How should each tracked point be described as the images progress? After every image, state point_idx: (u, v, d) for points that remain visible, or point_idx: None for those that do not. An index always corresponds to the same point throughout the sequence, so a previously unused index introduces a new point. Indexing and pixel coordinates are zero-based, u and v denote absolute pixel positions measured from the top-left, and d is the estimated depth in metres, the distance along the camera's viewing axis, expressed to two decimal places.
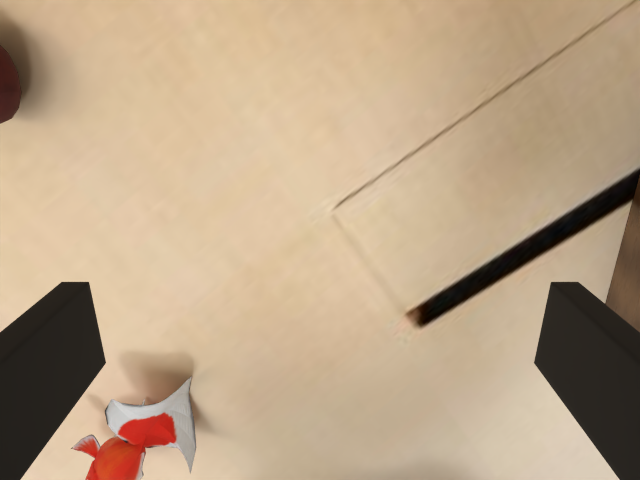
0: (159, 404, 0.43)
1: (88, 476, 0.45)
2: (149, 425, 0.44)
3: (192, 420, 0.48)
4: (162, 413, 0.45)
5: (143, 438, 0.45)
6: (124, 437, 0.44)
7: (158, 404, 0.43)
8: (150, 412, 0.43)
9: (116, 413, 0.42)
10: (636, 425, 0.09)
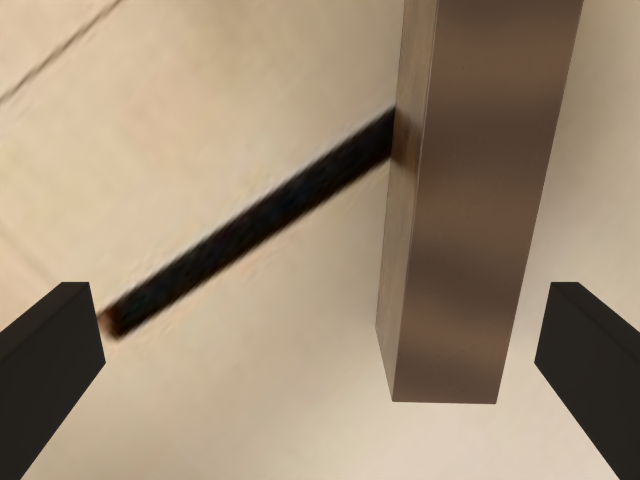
0: None
1: None
2: None
3: None
4: None
5: None
6: None
7: None
8: None
9: None
10: (636, 425, 0.09)
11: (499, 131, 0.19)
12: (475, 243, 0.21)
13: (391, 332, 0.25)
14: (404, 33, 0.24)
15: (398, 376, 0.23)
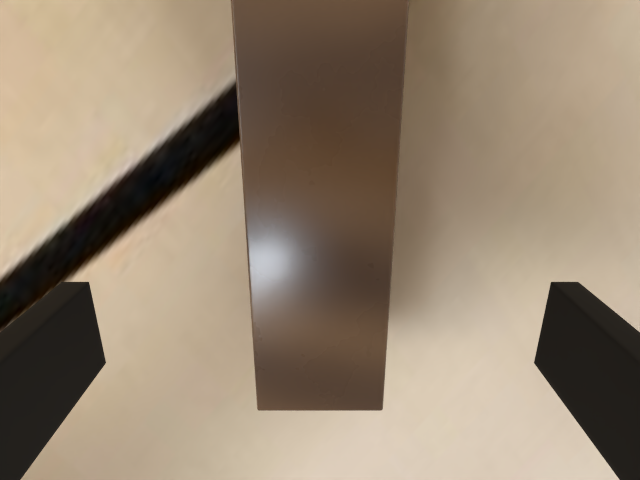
0: None
1: None
2: None
3: None
4: None
5: None
6: None
7: None
8: None
9: None
10: (636, 425, 0.09)
11: (332, 69, 0.15)
12: (325, 215, 0.17)
13: None
14: None
15: (259, 380, 0.20)
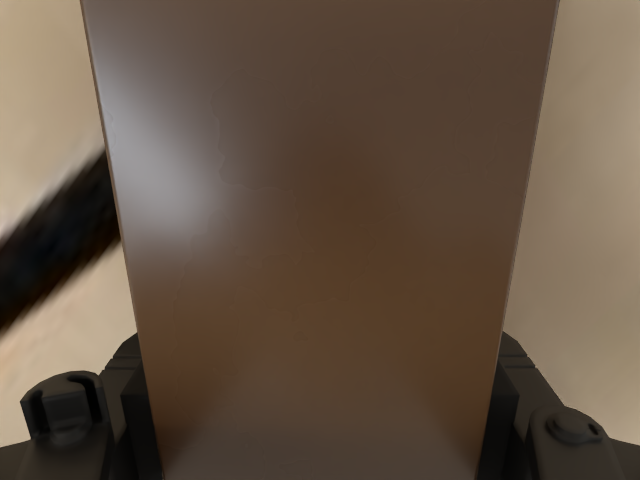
0: None
1: None
2: None
3: None
4: None
5: None
6: None
7: None
8: None
9: None
10: None
11: (353, 68, 0.05)
12: (333, 400, 0.07)
13: None
14: None
15: None
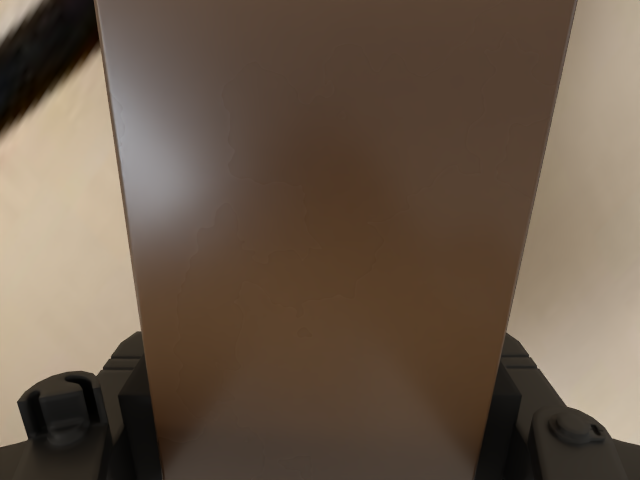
0: None
1: None
2: None
3: None
4: None
5: None
6: None
7: None
8: None
9: None
10: None
11: (367, 64, 0.05)
12: (335, 397, 0.07)
13: None
14: None
15: None
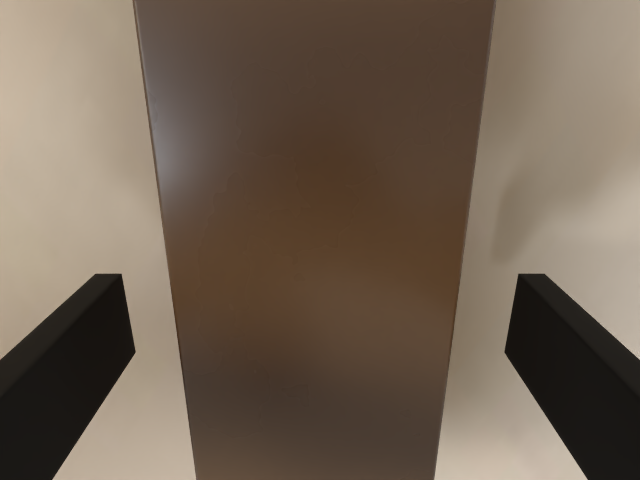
0: None
1: None
2: None
3: None
4: None
5: None
6: None
7: None
8: None
9: None
10: (587, 406, 0.09)
11: (340, 62, 0.07)
12: (325, 332, 0.09)
13: None
14: None
15: None
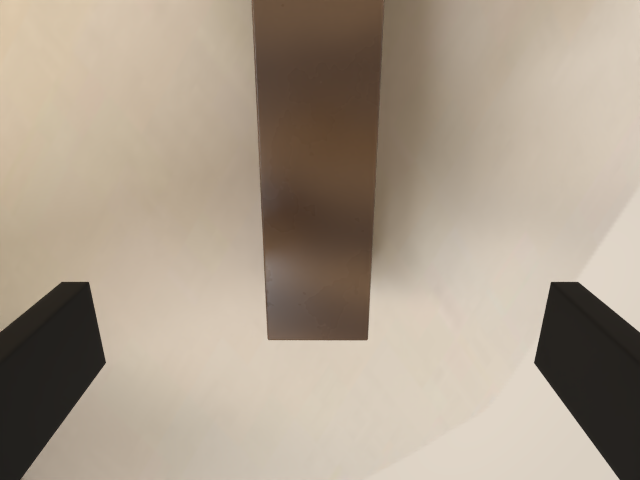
0: None
1: None
2: None
3: None
4: None
5: None
6: None
7: None
8: None
9: None
10: (636, 425, 0.09)
11: (327, 67, 0.20)
12: (322, 179, 0.22)
13: None
14: None
15: (269, 314, 0.25)
